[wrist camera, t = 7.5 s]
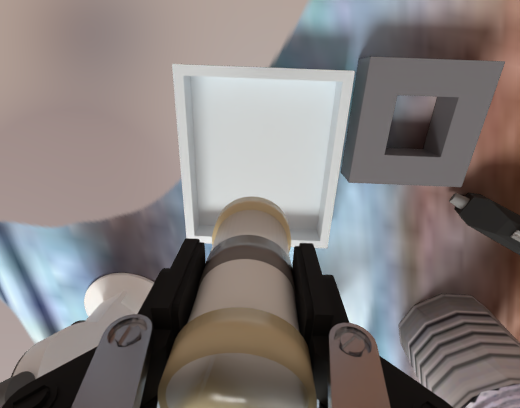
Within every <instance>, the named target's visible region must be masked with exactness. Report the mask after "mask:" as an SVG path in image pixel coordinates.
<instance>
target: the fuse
mask: <svg viewBox="0 0 520 408" xmlns="http://www.w3.org/2000/svg"><path fill="white" fill-rule="evenodd" d="M212 245H213V246H212V249H211V252H210V254H209V256H208V258H207V261H206V264H205V267H204V270H203V273H202V276H201V279H200V282H199V285H198V289H197V296H196V299H195V302H194V305H193V308H192V311H191V314H190V317H189V320H188V323H187V324H186V325H185V326H184V327H183V328H182V329H181V331H180V332H179V333H178V335H177V337H176V338H175V341H174V344H173V347H172V350H171V352H170V355H169V358H168V361H167V364H166V367H165V369H164V372H163V375H162V378H161V381H160V384H159V387H158V402H159V405H160V408H316V402H317V398H316V391H315V385H314V379H313V372H312V366H311V360H310V354H309V349H308V346H307V343H306V341H305V339H304V338H303V336H302V335H301V334H300V332H299V324H298V317H297V309H296V302H295V299H296V292H295V285H294V278H293V270H292V264H291V261H290V257H289V251H290V247H291V234H290V228H289V223H288V219H287V217H286V215H285V213H284V212H283V211H282V209H281V208H280V207H279V206H277V205H276V204H275V203H273V202H272V201H270V200H267V199H265V198H261V197H254V196H250V197H243V198H239V199H236V200H234V201H232V202H231V203H229V204H228V205H227V206H225V207H224V208H223V210H222V211H221V212H220V214H219V216H218V219H217V221H216V224H215V227H214V230H213V234H212Z"/></svg>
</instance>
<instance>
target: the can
mask: <svg viewBox="0 0 520 408" xmlns="http://www.w3.org/2000/svg"><path fill="white" fill-rule="evenodd" d="M399 334H400V343H401V345H402V347H403V350H404V352H405V354H406V356H407V358H408V360H409V362H410V364H411V366H412V368H413V370H414V372H415V374H416V376H417V378H418V380H419V382H420V384H421V385H423V386H424V387H426V388H427V389H429V390H430V391H432V392H433V393H434V394H436V395H437V396H439V397H440V398H442V399H443V400H445V401H446V402H447V403H448V404H450V405H451V406H452V407H453V408H520V343H519V342H518V341H517V339H516V338H515V337H514V336H513V335H512V334H511V333H510V332H509V331H508V330H507V329H506V328H505V327H504V326H503V325H502V324H501V323H500V322H499V320H498V319H497V318H496V317H495V316H494V315H493V314H492V313H491V312H490V311H489V310H488V309H487V308H486V307H485V306H483V305H482V304H481V303H480V302H478V301H477V300H476V299H475V298H474V297H472V296H471V295H457V294H440V295H438V296H435V297H433V298H430V299H428V300H426V301H423V302H421V303H419V304H416V305H414V306H413V307H412V308H411V310H410V311H409V312H408V313H407V315H406V316H405V317H404V319H403V320H402V321H401V322H400V324H399Z"/></svg>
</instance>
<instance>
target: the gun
mask: <svg viewBox="0 0 520 408" xmlns="http://www.w3.org/2000/svg"><path fill="white" fill-rule="evenodd" d="M449 202H451V203H452V204H453V205H455V206H456V208H455V210H456V212H457V213H458V214H459V216H460V217H461V218H462V219H463V220H464V221H465V223H466V224H467V225H469V226H470V227H472V228H474V229H475V230H477V231H479V232H481V233H482V234H484V235H486V236H488V237H489V238H491V239H493V240H494V241H496V242H498V243H500V244H501V245H503V246H505V247H507V248H508V249H510V250H512V251H513V252H515V253H517V254H519V255H520V216H519V215H518V214H516V213H514V212H512V211H510V210H508V209H507V208H505V207H503V206H501V205H499V204H497V203H496V202H494V201H492V200H490V199H488V198H486V197H484V196H483V195H481V194H474V193H468V194H467V195H466V196H462V195H460V194H457V193H455V194H454V195H453V196H452V197H451V198H450V200H449Z"/></svg>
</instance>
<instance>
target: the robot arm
mask: <svg viewBox="0 0 520 408" xmlns="http://www.w3.org/2000/svg"><path fill="white" fill-rule="evenodd" d="M204 267H205V246H204V242H200V240H199V239H192V238H186V239H185V240H184V242H183V244H182V246H181V248H180V250H179V252H178V254H177V256H176V258H175V260H174V262H173V264H172V266H171V268H170V269H169V268H163V269H162V270H161V271H160V273H159V275H158V277H157V279H156V281H155V282H154V284H153V286H152V288H151V290H150V292H149V293H148V295H147V297H146V299H145V301H144V303H143V304H142V306H141V308H140V310H139V312H138V314H131V315H126V316H124V317H121V318H119V319H117V320H116V321H114V322H112V323H111V324H110V325H109V326H108V327H107V328H106V330H105V331H104V333H103V335H102V337H101V340H100V342H99V344H98V346H97V347H95V348H93V349H91V350H89V351H88V352H86V353H84V354H82V355H80V356H78V357H76V358H74V359H73V360H71V361H69V362H67V363H65V364H63V365H61V366H59V367H58V368H56V369H54V370H52V371H50V372H48V373H46V374H44V375H43V376H41V377H39V378H37V379H35V380H33V381H31V382H30V383H28V384H26V385H25V386H23V387H22V388H20V389H18V390H17V391H16V392H15V393H14V394H13V395H12V396H10V397H9V399H8V400H7V401H6V402H5V404H2V405H0V408H160V405H159V402H158V387H159V384H160V381H161V378H162V375H163V372H164V369H165V367H166V364H167V361H168V358H169V355H170V352H171V350H172V347H173V344H174V341H175V338H176V337H177V335H178V333H179V332H180V331H181V329H182V328H183V327H184V326H185V325H186V324H187V323H188V320H189V317H190V314H191V311H192V308H193V305H194V302H195V299H196V296H197V289H198V285H199V282H200V279H201V276H202V273H203V270H204ZM292 270H293V278H294V285H295V292H296V299H295V302H296V309H297V317H298V324H299V332H300V334H301V335H302V336H303V338H304V339H305V341H306V343H307V346H308V349H309V354H310V360H311V366H312V372H313V379H314V385H315V391H316V398H317V408H453V407H452V406H451V405H450V404H448V403H447V402H446V401H445V400H443V399H442V398H440V397H439V396H437V395H436V394H434V393H433V392H432V391H430V390H429V389H427V388H426V387H424V386H423V385H421V384H420V383H418V382H417V381H415V380H414V379H413V378H411V377H410V376H408V375H407V374H405V373H404V372H402V371H401V370H399V369H398V368H397V367H395V366H394V365H392V364H391V363H389V362H388V361H386V360H385V359H383V358H382V357H380V356H379V352H378V348H377V344H376V342H375V339H374V338H373V336H372V335H371V334H370V333H369V332H368V331H367V330H365V329H364V328H362V327H360V326H358V325H356V324H352V323H349V320H348V318H347V315H346V312H345V309H344V306H343V303H342V300H341V297H340V294H339V291H338V288H337V285H336V282H335V279H334V277H333V276H332V275H322V272H321V269H320V265H319V262H318V258H317V255H316V251H315V248H314V245H313V243H300V244H299V246H295V247H294V257H293V267H292Z"/></svg>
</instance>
